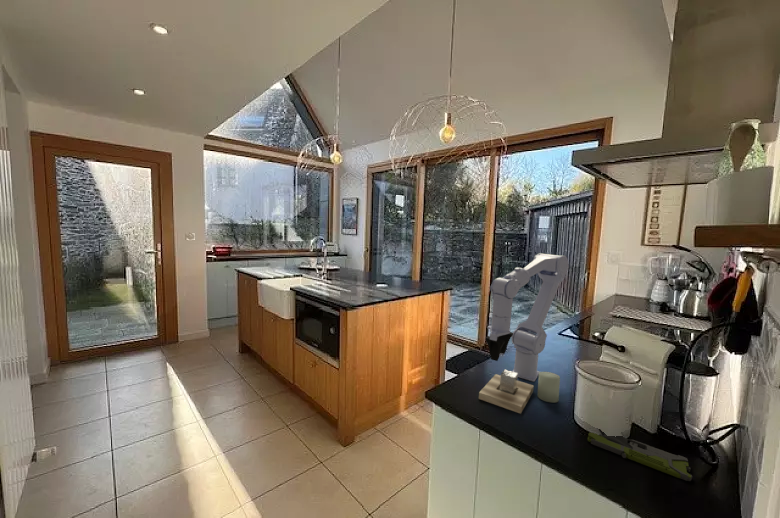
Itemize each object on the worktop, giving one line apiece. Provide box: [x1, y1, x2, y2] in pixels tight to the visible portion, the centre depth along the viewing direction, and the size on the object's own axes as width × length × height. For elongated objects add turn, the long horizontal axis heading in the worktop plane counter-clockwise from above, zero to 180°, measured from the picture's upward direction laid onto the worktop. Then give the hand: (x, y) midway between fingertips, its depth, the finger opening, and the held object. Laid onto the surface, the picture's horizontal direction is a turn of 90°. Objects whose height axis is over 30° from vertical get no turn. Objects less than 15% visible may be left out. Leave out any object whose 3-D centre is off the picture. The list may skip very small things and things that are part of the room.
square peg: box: [500, 369, 519, 395], centre depth 100 cm, size 4×4×7 cm
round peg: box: [536, 371, 561, 403], centre depth 100 cm, size 6×6×7 cm
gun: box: [587, 432, 693, 482], centre depth 79 cm, size 2×19×15 cm
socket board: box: [478, 373, 535, 415], centre depth 100 cm, size 16×12×2 cm
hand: (497, 356), depth 106 cm, fingers open, 7 cm apart
